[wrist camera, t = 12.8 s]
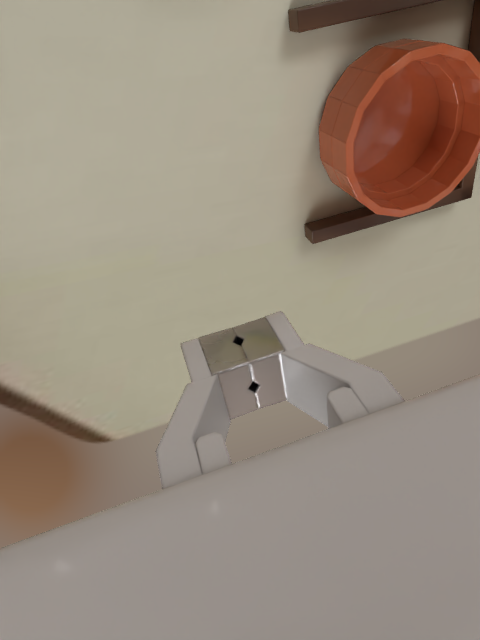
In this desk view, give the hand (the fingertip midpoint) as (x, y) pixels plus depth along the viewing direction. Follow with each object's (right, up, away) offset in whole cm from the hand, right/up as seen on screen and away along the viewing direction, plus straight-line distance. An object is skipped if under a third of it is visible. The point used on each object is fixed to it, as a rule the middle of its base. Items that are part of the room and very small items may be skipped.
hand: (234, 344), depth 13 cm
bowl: (+11, +16, +22) cm, 30 cm away
